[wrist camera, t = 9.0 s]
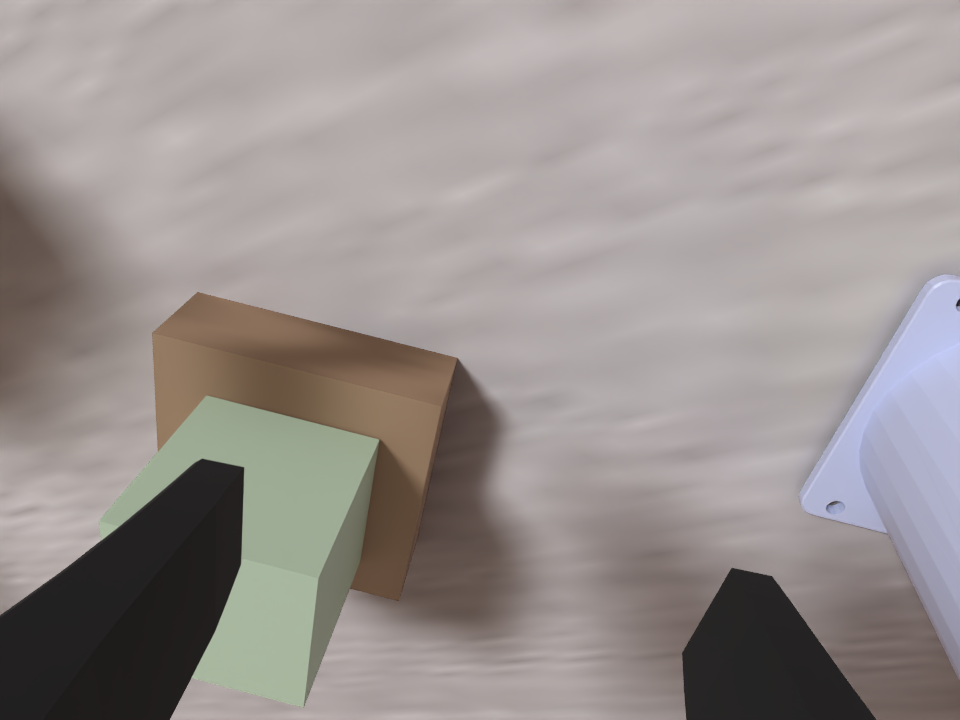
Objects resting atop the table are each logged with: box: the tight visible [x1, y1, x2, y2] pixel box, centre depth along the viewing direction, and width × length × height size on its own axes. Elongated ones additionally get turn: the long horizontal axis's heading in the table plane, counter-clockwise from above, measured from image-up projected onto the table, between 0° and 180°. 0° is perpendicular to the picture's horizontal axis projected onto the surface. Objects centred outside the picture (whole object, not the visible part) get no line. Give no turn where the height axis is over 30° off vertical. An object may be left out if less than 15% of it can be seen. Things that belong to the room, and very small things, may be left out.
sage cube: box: [99, 395, 379, 708], centre depth 19 cm, size 5×5×5 cm
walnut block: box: [152, 292, 457, 601], centre depth 22 cm, size 8×8×3 cm
